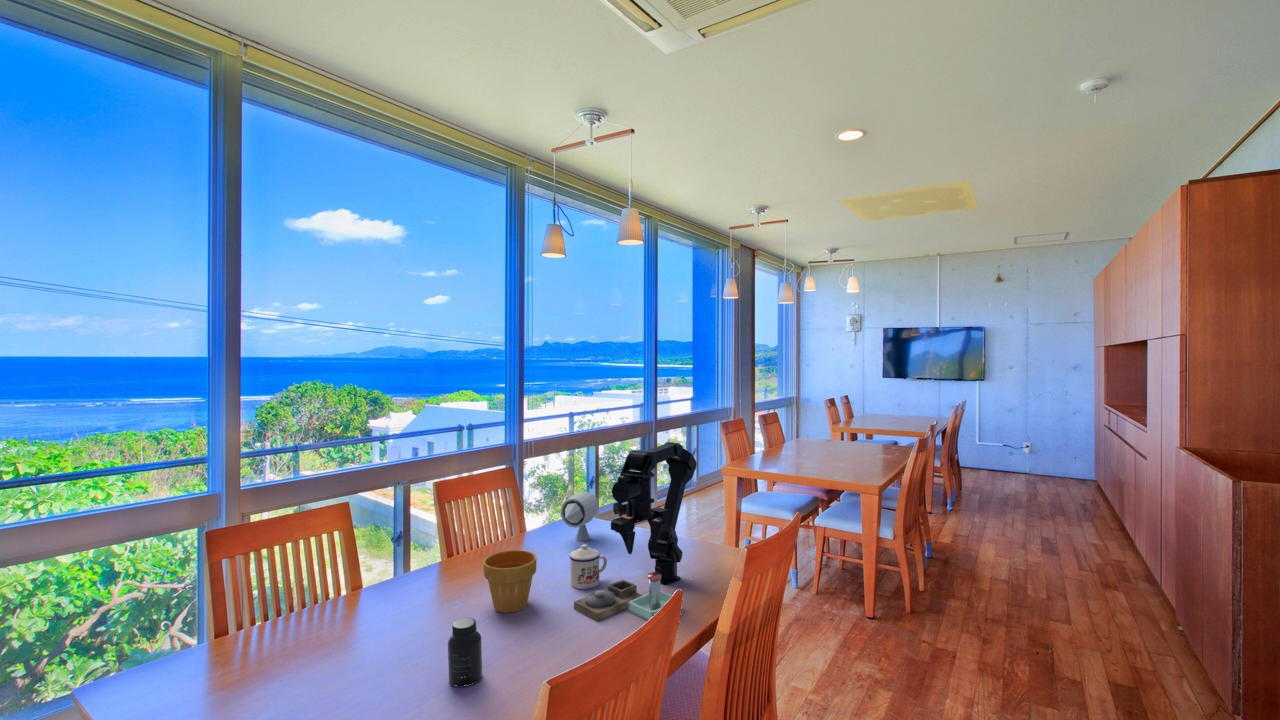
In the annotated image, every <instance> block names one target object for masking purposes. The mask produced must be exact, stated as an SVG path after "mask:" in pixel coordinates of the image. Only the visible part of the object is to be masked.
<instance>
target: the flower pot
mask: <svg viewBox="0 0 1280 720" xmlns="http://www.w3.org/2000/svg"><path fill="white" fill-rule="evenodd" d="M536 572H537V555H536V554H535V553H533V552H531V551H528V550H523V549H522V550H521V549H514V550H513V549H512V550H511V549H510V550H503V551H499V552H495V553H493V554H491V555H489V556H487V557H486V558H484V560H483V576H484V578H485V579H486V580H487V582H488V586H489V587H488V588H489V591H490V595H491V601H492V604H493V609H494V610H495V611H497V612H499V613H504V614H507V613H516V612H519V611H522V610H523V609H525V608H526V607H527V605H528V600H529V596H530V592H531V587H532V586H531V585H532V581H533V576H534V575H535V574H536Z"/></svg>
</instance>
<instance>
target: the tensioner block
mask: <svg viewBox="0 0 1280 720" xmlns="http://www.w3.org/2000/svg"><path fill="white" fill-rule="evenodd" d="M637 590H638V589H637V584H634V583H632V582H630V581H627V580H624V579H621V580H618V581H616V582H613V583H610V584H608V585H607V587H606V589H596V590H592V591H588V592H587V593H586V594H585V596H584V597H582V598H580V599H577V600H575V601H573V610H574V611H576V612H579V613H581V614H583V615H585V616H586V617H588V618H591V619H592V620H594V621H596V622H599V621H602V620H604V619H606V618H608V617H611V616H613V615H616V614H617V613H620V612H622V611H625V610H628V602H629V601H631V600H634V599H636V598H638V597H641V596H643V594H641V593H639V592H637Z"/></svg>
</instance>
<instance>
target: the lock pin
mask: <svg viewBox="0 0 1280 720" xmlns="http://www.w3.org/2000/svg"><path fill="white" fill-rule="evenodd" d="M647 579H648V591H649V592H648V593H649V608H650V609H651V610H656V609H659V608H661V598H660V591H661V582H660V579H661V574H660V573H657V572H655V571H653V572H649V573H648V574H647Z"/></svg>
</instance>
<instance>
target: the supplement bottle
mask: <svg viewBox="0 0 1280 720" xmlns="http://www.w3.org/2000/svg"><path fill="white" fill-rule="evenodd" d="M451 628H452V630H451V632H452V633H451V634H452V635H451V636H450V637H449V639H448V640H447V659H448V682H449V684H450V685H452V684H453V685H457V686H464V685H465V686H466V685H469V684H472V683H474V684H476V683H478V682H479V681H480V680H481V678H482V675H483V657H482V656H483V652H482V651H483V650H482V648H483V647H482V635H481V634H480V632H479V631H478V630H477V620H476V619H475V618H473V617H463V618H460V619H457V620H455V621H454V622H453V623H452V626H451ZM475 682H476V683H475ZM453 685H452V686H453ZM472 685H473V684H472ZM466 687H467V686H466Z"/></svg>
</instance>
